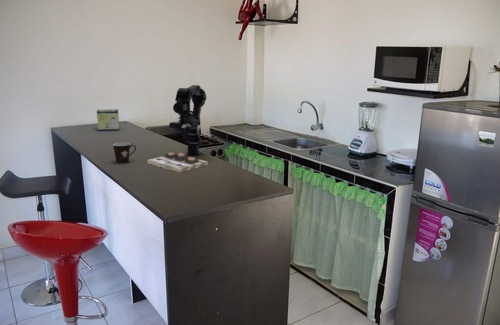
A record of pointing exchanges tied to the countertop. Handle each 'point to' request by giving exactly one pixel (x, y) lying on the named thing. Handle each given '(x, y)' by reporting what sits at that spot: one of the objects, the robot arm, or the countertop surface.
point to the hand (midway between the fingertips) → (185, 139)
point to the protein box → (108, 120)
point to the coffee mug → (122, 152)
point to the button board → (177, 163)
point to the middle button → (181, 155)
